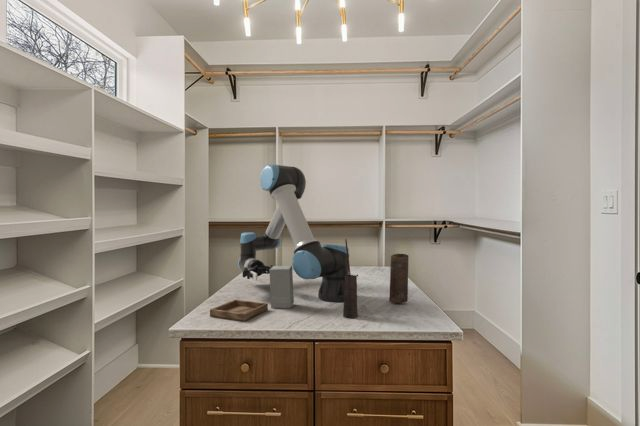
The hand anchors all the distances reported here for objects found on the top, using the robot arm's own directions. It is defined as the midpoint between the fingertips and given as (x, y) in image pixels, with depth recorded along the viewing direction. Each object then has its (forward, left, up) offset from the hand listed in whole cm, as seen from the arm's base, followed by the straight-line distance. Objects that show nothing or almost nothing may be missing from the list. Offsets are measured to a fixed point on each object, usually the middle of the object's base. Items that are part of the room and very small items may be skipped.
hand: (271, 275), depth 147 cm
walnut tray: (+2, +20, -11) cm, 23 cm away
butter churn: (-38, +7, -11) cm, 40 cm away
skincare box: (-8, +6, -11) cm, 15 cm away
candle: (-50, -17, -11) cm, 54 cm away
